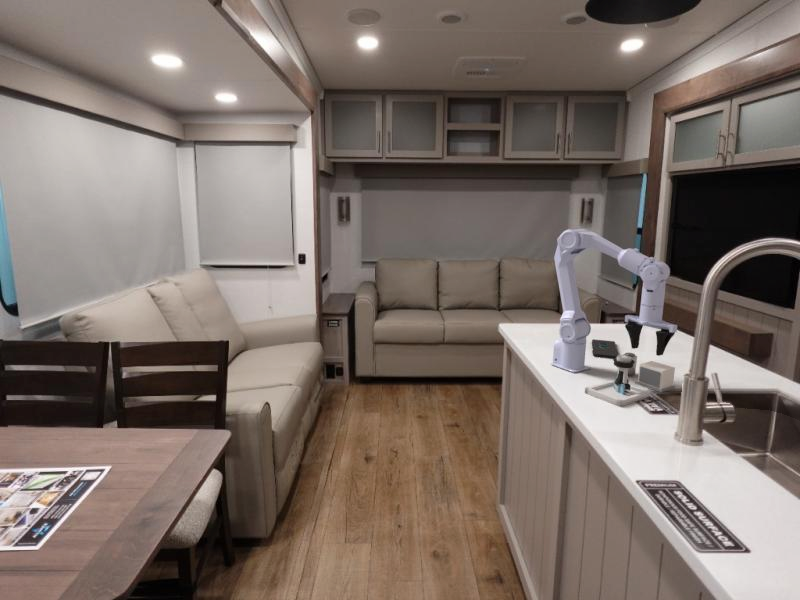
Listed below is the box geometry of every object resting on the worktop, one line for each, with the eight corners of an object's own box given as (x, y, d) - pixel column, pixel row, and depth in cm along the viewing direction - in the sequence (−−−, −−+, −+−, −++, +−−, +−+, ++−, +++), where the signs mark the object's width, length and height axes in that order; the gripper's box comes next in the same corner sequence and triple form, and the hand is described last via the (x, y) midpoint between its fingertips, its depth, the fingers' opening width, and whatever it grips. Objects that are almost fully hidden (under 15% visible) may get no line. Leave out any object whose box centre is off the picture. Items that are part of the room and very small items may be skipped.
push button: (638, 396, 133) (641, 361, 131) (619, 397, 132) (622, 361, 130) (624, 387, 139) (628, 353, 137) (606, 388, 139) (609, 354, 137)
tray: (584, 392, 137) (585, 387, 136) (614, 384, 143) (614, 379, 143) (619, 406, 128) (620, 401, 127) (649, 397, 134) (650, 391, 134)
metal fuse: (618, 373, 153) (620, 353, 152) (626, 371, 155) (628, 351, 154) (629, 377, 149) (632, 356, 148) (637, 375, 151) (640, 354, 150)
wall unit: (635, 383, 144) (637, 363, 143) (649, 379, 148) (651, 360, 147) (661, 392, 138) (663, 371, 136) (675, 387, 141) (677, 367, 140)
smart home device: (615, 340, 185) (619, 355, 167) (614, 345, 186) (618, 360, 167) (591, 338, 188) (593, 353, 169) (591, 343, 188) (592, 358, 170)
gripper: (619, 301, 142) (615, 347, 145) (668, 311, 130) (662, 360, 132) (635, 299, 145) (630, 343, 148) (683, 308, 133) (678, 356, 136)
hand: (646, 351), depth 140 cm, fingers open, 7 cm apart
